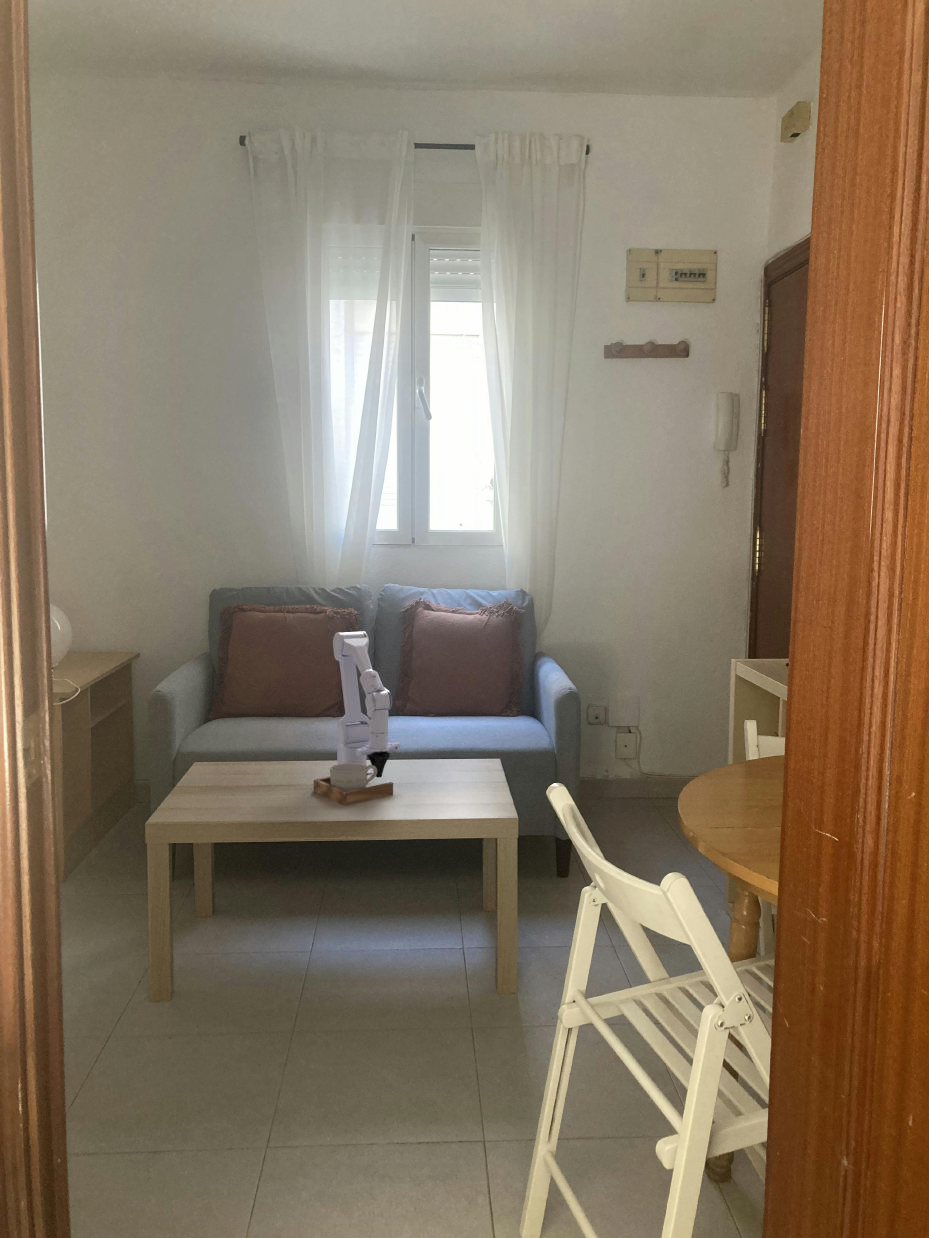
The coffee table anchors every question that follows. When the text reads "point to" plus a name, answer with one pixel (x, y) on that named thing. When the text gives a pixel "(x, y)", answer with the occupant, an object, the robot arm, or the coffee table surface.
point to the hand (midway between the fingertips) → (378, 776)
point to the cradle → (351, 792)
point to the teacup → (351, 776)
